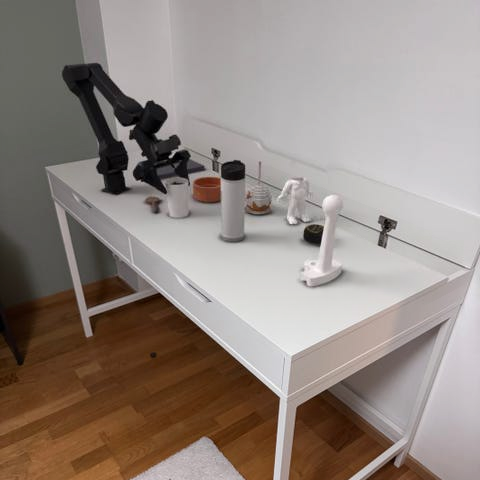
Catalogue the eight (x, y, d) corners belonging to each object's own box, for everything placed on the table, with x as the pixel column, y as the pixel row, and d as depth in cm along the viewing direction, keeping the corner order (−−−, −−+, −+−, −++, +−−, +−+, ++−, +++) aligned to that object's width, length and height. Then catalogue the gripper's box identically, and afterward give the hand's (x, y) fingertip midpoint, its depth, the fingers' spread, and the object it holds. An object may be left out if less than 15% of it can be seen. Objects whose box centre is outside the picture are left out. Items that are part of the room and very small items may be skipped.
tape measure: (321, 249, 122) (323, 236, 120) (298, 242, 125) (299, 229, 123) (331, 239, 127) (333, 227, 125) (309, 233, 130) (310, 221, 128)
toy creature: (284, 227, 133) (287, 186, 126) (273, 219, 138) (276, 179, 131) (319, 220, 138) (324, 180, 131) (308, 213, 142) (312, 174, 135)
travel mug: (247, 233, 129) (249, 161, 118) (239, 243, 124) (240, 168, 113) (226, 230, 131) (226, 158, 119) (217, 240, 126) (216, 165, 114)
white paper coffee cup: (163, 216, 138) (160, 183, 133) (174, 208, 143) (172, 176, 138) (183, 219, 136) (181, 186, 131) (193, 211, 141) (192, 179, 136)
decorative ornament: (248, 205, 147) (249, 156, 138) (272, 207, 145) (275, 158, 137) (243, 214, 140) (244, 164, 132) (268, 217, 139) (271, 166, 130)
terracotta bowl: (186, 199, 150) (185, 183, 147) (205, 189, 158) (205, 174, 155) (214, 206, 146) (214, 190, 143) (232, 195, 153) (232, 180, 150)
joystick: (313, 288, 106) (324, 204, 94) (290, 275, 111) (297, 194, 99) (345, 273, 112) (358, 192, 100) (321, 261, 117) (331, 183, 105)
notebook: (154, 180, 164) (204, 169, 175) (154, 176, 163) (204, 165, 174) (137, 171, 172) (186, 161, 183) (137, 166, 171) (186, 157, 182)
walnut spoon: (163, 212, 141) (163, 208, 140) (148, 213, 140) (148, 210, 139) (158, 198, 150) (158, 195, 149) (145, 199, 149) (144, 196, 148)
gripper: (134, 131, 123) (166, 182, 123) (184, 120, 134) (213, 166, 135) (119, 156, 131) (149, 203, 132) (168, 143, 143) (195, 187, 144)
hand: (178, 189), depth 135 cm, fingers open, 9 cm apart
